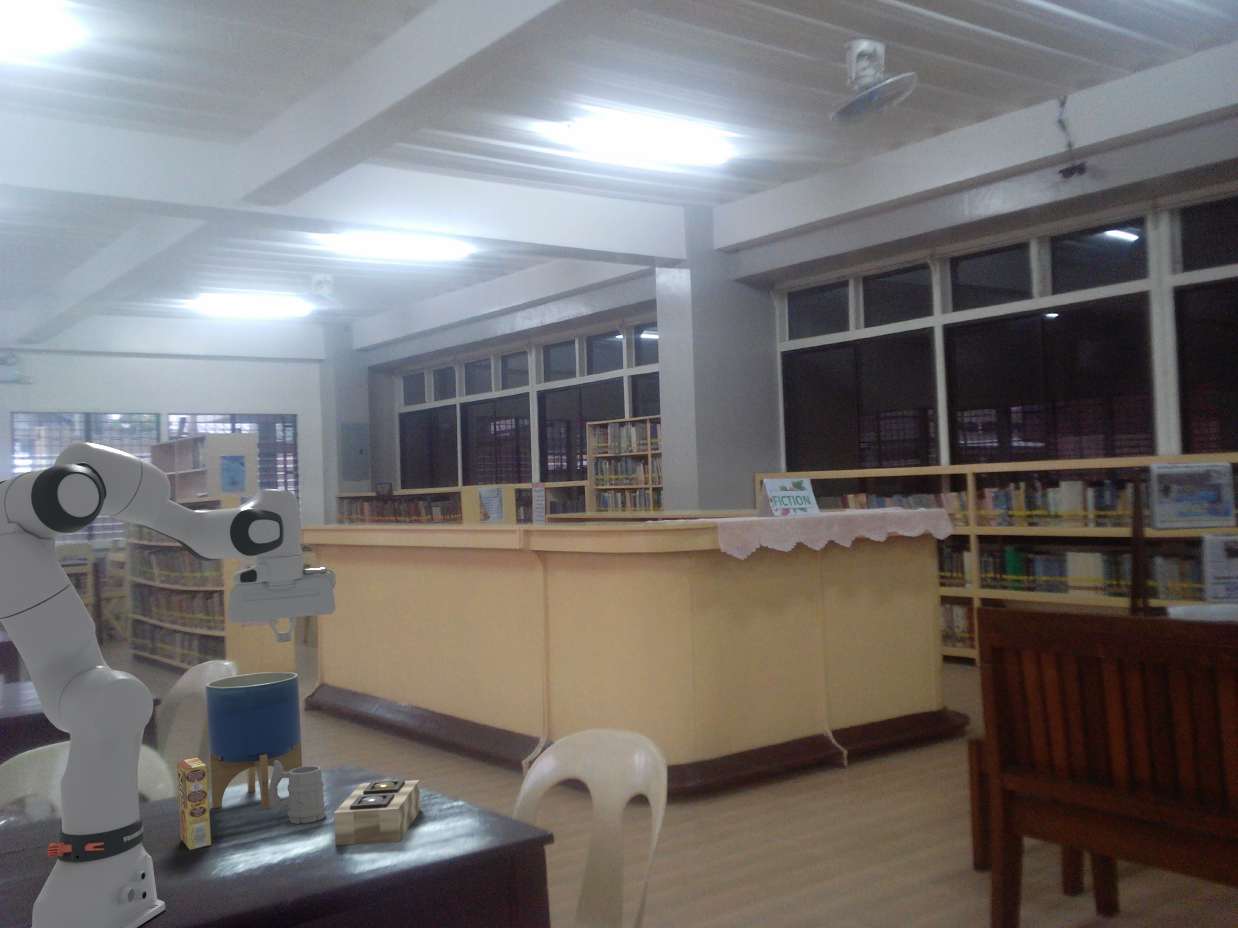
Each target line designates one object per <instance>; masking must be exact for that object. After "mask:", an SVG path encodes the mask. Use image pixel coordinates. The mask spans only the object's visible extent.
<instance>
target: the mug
mask: <svg viewBox="0 0 1238 928" xmlns="http://www.w3.org/2000/svg"><path fill="white" fill-rule="evenodd" d="M282 779H288V785H287V792H288V797H287V798H284V799H282V798H281V797H280V795H278V786H279V783H281V781H282ZM324 786H325V784H324V780H323V776H322V767H321V766H318V765H308V766H307V765H306V766H302V767H298V768H295V769H292V770H290V771H289V772H284V771H283V766H282V764H281V763H280V761H278V760H275V761H274V767H273V771H272V775H271V778H270V782H269V790H268V795H269V804H270V809H272V810H273V813H274V814H275V815H278V814H280V812H281V811H282V810H283V809H284V808H285V807H288V808H287V816H288V819H289V822H290V824H295V825H296V824H297V825H298V824H308V823H313V822H316V821H320V820H322V819H324V818H325V817H326V811H327V804H326V803H325V796H324Z"/></svg>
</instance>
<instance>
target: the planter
mask: <svg viewBox="0 0 1238 928" xmlns="http://www.w3.org/2000/svg"><path fill="white" fill-rule="evenodd" d="M205 694H206V695H205V696H206V714H207V716H206V717H207V736H208V753H209V754H208V756H209V758H208V759H209V777H210V780H209V781H210V798H211V799H210V800H211V808H212V809H218V808H222V807H223V797H224V795H225V792H226V789H227V787H228V786H229V785H230V783H231V782H232V780H233V779H234V778H236V777H237V776H238V775H239V774H241V773H242V772H244V771H246V779H247V791H248V793H252V792H253V793H255V792H256V777H257V780H258V786H259V790H260V791H259V792H260V802H261V803H260V804H261V809H262V810H263V811H264V810H269V809H271V807H270V804H269V795H268V790H269V785H270V782H269V769H268V768H269V767H273V768H274V761H275V760H278V761H280V763H281V764H282V766H283V771H284V772H289V771H290V770H292V769H295V768H298V767H303V755H302V730H301V729H302V728H301V713H300V712H301V710H300V694H299V675H298V673H296V672H291V671H271V672H270V671H269V672H267V671H266V672H254V673H247V674H240V675H233V676H228V677H227V676H226V677H223V678H218V679H214V680H212V681H209V682H207V683H206V684H205Z"/></svg>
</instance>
